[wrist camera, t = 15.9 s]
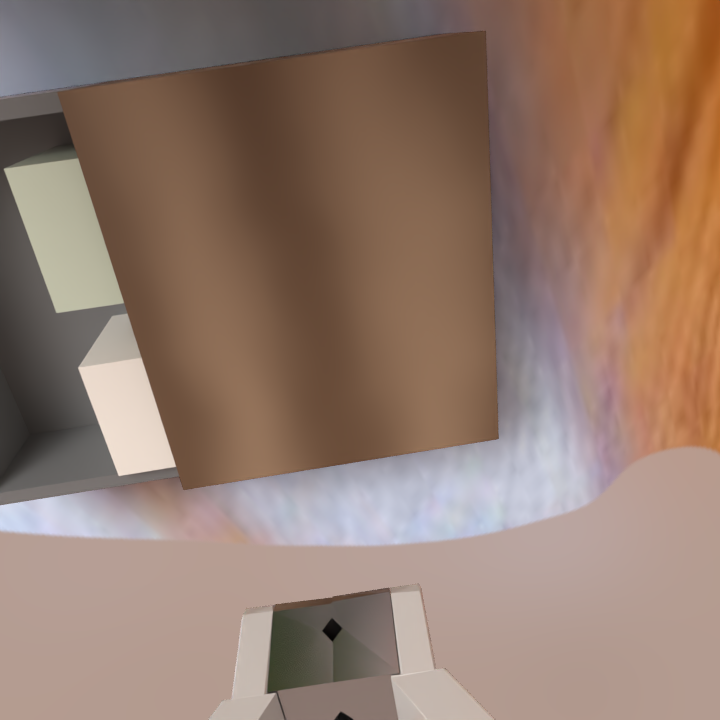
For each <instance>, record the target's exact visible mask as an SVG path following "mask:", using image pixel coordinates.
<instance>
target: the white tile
mask: <svg viewBox="0 0 720 720" xmlns="http://www.w3.org/2000/svg"><path fill="white" fill-rule="evenodd" d="M78 369H79V372H80V374H81V377H82V380H83V382H84V385H85V388H86V390H87V393H88V396H89V398H90V401H91V404H92V406H93V409H94V412H95V414H96V417H97V420H98V422H99V425H100V428H101V430H102V433H103V436H104V438H105V441H106V444H107V446H108V449H109V452H110V454H111V457H112V460H113V462H114V465H115V468H116V470H117V473H118V475H119V476H122V475H128V474H135V473H141V472H147V471H153V470H159V469H165V468H171V467H176V465H175V461H174V458H173V455H172V452H171V449H170V446H169V443H168V439H167V436H166V433H165V430H164V427H163V424H162V421H161V417H160V414H159V411H158V408H157V405H156V402H155V399H154V395H153V392H152V389H151V386H150V383H149V380H148V377H147V373H146V370H145V367H144V364H143V361H142V358H141V355H140V351H139V348H138V345H137V342H136V339H135V336H134V333H133V329H132V326H131V323H130V320H129V317H128V314H122V315H116V316H112V317H111V319H110V320H109V322H108V323H107V325H106V326H105V328H104V329H103V331H102V332H101V334H100V335H99V337H98V338H97V340H96V341H95V343H94V344H93V346H92V347H91V349H90V350H89V352H88V353H87V355H86V356H85V358H84V359H83V361H82V363H81V364H80V366H79V367H78Z"/></svg>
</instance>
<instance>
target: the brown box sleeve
mask: <svg viewBox="0 0 720 720" xmlns="http://www.w3.org/2000/svg"><path fill="white" fill-rule="evenodd" d="M57 94H58V97H59V100H60V103H61V106H62V109H63V113H64V116H65V119H66V122H67V125H68V128H69V131H70V135H71V138H72V141H73V144H74V147H75V150H76V153H77V157H78V160H79V163H80V166H81V169H82V172H83V175H84V179H85V182H86V185H87V188H88V191H89V194H90V197H91V201H92V204H93V207H94V210H95V213H96V216H97V219H98V223H99V226H100V229H101V232H102V235H103V238H104V241H105V245H106V248H107V251H108V254H109V257H110V260H111V263H112V267H113V270H114V273H115V276H116V279H117V282H118V285H119V289H120V292H121V295H122V298H123V301H124V304H125V307H126V311H127V314H128V317H129V320H130V323H131V326H132V329H133V333H134V336H135V339H136V342H137V345H138V348H139V351H140V355H141V358H142V361H143V364H144V367H145V370H146V373H147V377H148V380H149V383H150V386H151V389H152V392H153V395H154V399H155V402H156V405H157V408H158V411H159V414H160V417H161V421H162V424H163V427H164V430H165V433H166V436H167V439H168V443H169V446H170V449H171V452H172V455H173V458H174V461H175V465H176V468H177V471H178V474H179V477H180V480H181V483H182V487H183V490H187V489H193V488H199V487H205V486H211V485H218V484H224V483H230V482H236V481H242V480H249V479H255V478H261V477H267V476H273V475H279V474H286V473H292V472H298V471H304V470H310V469H316V468H323V467H329V466H335V465H341V464H347V463H354V462H360V461H366V460H372V459H378V458H384V457H391V456H397V455H403V454H409V453H415V452H421V451H428V450H434V449H440V448H446V447H452V446H459V445H465V444H471V443H477V442H483V441H489V440H496V439H499V435H498V403H497V372H496V340H495V309H494V277H493V246H492V214H491V183H490V151H489V119H488V88H487V56H486V31H477V32H462V33H448V34H438V35H431V36H424V37H417V38H410V39H403V40H396V41H389V42H382V43H375V44H368V45H361V46H354V47H347V48H340V49H333V50H326V51H319V52H312V53H305V54H298V55H291V56H284V57H277V58H270V59H263V60H256V61H249V62H242V63H235V64H228V65H221V66H214V67H207V68H200V69H193V70H186V71H179V72H172V73H165V74H158V75H151V76H144V77H137V78H129V79H122V80H115V81H109V82H104V83H99V84H94V85H89V86H84V87H79V88H74V89H69V90H64V91H60V92H57Z"/></svg>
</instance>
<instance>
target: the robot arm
mask: <svg viewBox="0 0 720 720" xmlns="http://www.w3.org/2000/svg"><path fill="white" fill-rule="evenodd" d="M390 592H391V594H390ZM391 599H392V600H391ZM208 720H495V719H494V718H493V717H492V716H491V715H490V714H489V713H488V712H487V711H486V710H485V709H484V708H483V706H481V704H480V703H479V702H478V701H477V700H476V699H475V698H474V697H473V696H472V695H471V694H470V693H469V692H468V691H467V690H466V689H465V688H464V687H463V686H462V685H461V684H460V683H459V682H458V681H457V680H456V679H455V678H454V677H453V676H452V675H451V674H450V673H449V672H448V671H447V670H446V669H445V668H443V669H436V666H435V660H434V655H433V650H432V644H431V638H430V634H429V628H428V622H427V617H426V611H425V606H424V601H423V595H422V590H421V587H420V585H419V584H412V585H406V586H399V587H393V588H384V589H378V590H372V591H365V592H359V593H353V594H346V595H340V596H334V597H333V598H325V599H316V600H308V601H300V602H292V603H284V604H276V605H270V606H262V607H254V608H247V609H245V612H244V614H243V616H242V622H241V630H240V637H239V645H238V653H237V661H236V668H235V676H234V683H233V691H232V699H228V700H223V701H222V702H221V703H220V705H219V706H218V707H217V709H216V710H215V711H214V713H213V714H212V715H211V717H210V718H209V719H208Z"/></svg>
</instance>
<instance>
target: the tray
mask: <svg viewBox="0 0 720 720" xmlns="http://www.w3.org/2000/svg"><path fill="white" fill-rule="evenodd" d="M108 82H109V81H108ZM101 83H104V82H101ZM94 84H99V83H94ZM94 84H87V85H80V86H73V87H66V88H59V89H52V90H45V91H38V92H31V93H24V94H17V95H10V96H3V97H0V505H5V504H11V503H17V502H23V501H29V500H36V499H42V498H48V497H54V496H60V495H67V494H73V493H79V492H85V491H91V490H98V489H104V488H110V487H116V486H122V485H129V484H135V483H141V482H147V481H153V480H160V479H166V478H172V477H178V476H179V474H178V471H177V468H176V467H171V468H165V469H159V470H153V471H147V472H141V473H135V474H128V475H122V476H119V475H118V473H117V470H116V468H115V465H114V462H113V460H112V457H111V454H110V452H109V449H108V446H107V444H106V441H105V438H104V436H103V433H102V430H101V428H100V425H99V422H98V420H97V417H96V414H95V412H94V409H93V406H92V404H91V401H90V398H89V396H88V393H87V390H86V388H85V385H84V382H83V380H82V377H81V374H80V372H79V369H78V367H79V366H80V364H81V363H82V361H83V359H84V358H85V356H86V355H87V353H88V352H89V350H90V349H91V347H92V346H93V344H94V343H95V341H96V340H97V338H98V337H99V335H100V334H101V332H102V331H103V329H104V328H105V326H106V325H107V323H108V322H109V320H110V319H111V317H112V316H116V315H122V314H127V311H126V307H125V304H124V303H122V304H115V305H109V306H102V307H95V308H88V309H81V310H74V311H68V312H61V313H56V310H55V308H54V305H53V302H52V299H51V297H50V294H49V291H48V288H47V286H46V283H45V280H44V277H43V275H42V272H41V269H40V267H39V264H38V261H37V258H36V256H35V253H34V250H33V247H32V245H31V242H30V239H29V236H28V234H27V231H26V228H25V225H24V223H23V220H22V217H21V215H20V212H19V209H18V206H17V204H16V201H15V198H14V195H13V193H12V190H11V187H10V184H9V182H8V179H7V176H6V174H5V171H4V168H7V167H9V166H11V165H13V164H16V163H18V162H20V161H23V160H25V159H27V158H30V157H32V156H34V155H37V154H39V153H41V152H43V151H46V150H48V149H50V148H53V147H55V146H60V145H68V144H73V141H72V138H71V135H70V131H69V128H68V125H67V122H66V119H65V116H64V113H63V109H62V106H61V103H60V100H59V97H58V94H57V92H60V91H64V90H69V89H74V88H79V87H84V86H89V85H94Z"/></svg>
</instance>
